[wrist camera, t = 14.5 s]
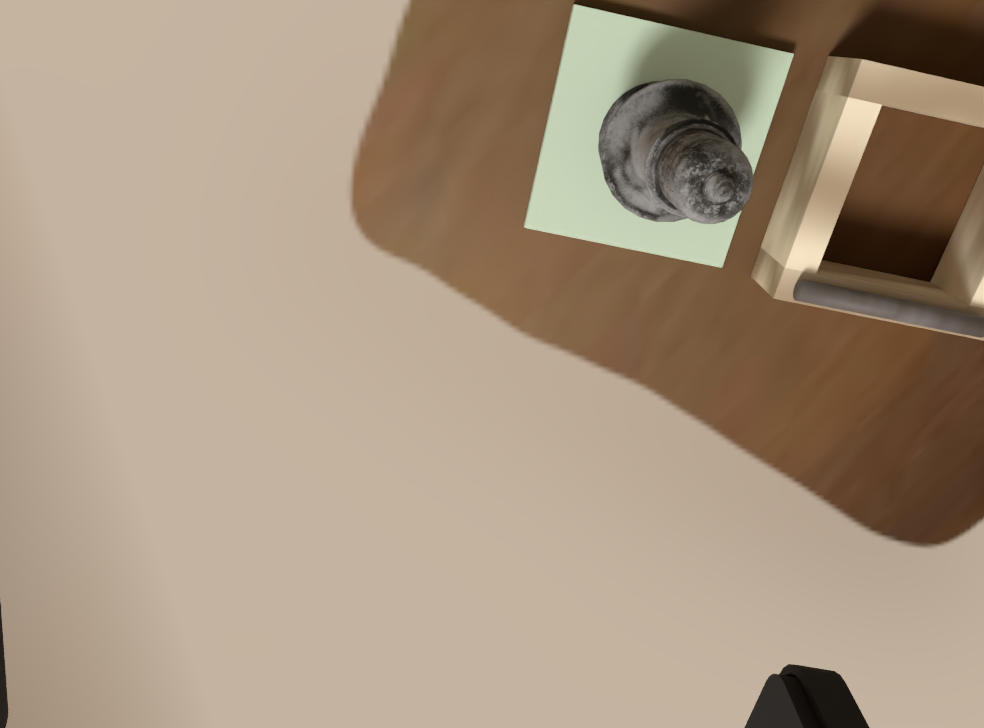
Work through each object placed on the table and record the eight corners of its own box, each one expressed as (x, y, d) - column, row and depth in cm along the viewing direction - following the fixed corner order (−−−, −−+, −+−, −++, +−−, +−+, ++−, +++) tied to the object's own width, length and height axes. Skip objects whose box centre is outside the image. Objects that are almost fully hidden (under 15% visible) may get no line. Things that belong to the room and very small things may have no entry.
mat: (573, 4, 34) (574, 4, 33) (789, 53, 34) (794, 53, 34) (523, 224, 38) (524, 227, 37) (718, 264, 38) (721, 267, 38)
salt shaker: (615, 223, 37) (665, 307, 26) (573, 105, 35) (609, 142, 24) (734, 176, 36) (838, 242, 25) (699, 51, 34) (796, 64, 23)
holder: (828, 55, 35) (873, 60, 30) (1044, 104, 35) (1116, 115, 31) (750, 275, 39) (780, 305, 35) (945, 315, 39) (997, 348, 35)
